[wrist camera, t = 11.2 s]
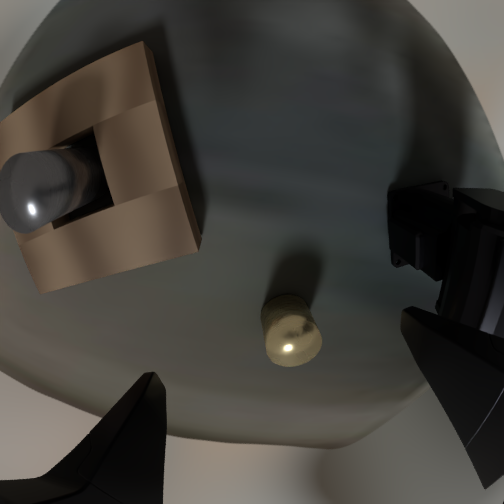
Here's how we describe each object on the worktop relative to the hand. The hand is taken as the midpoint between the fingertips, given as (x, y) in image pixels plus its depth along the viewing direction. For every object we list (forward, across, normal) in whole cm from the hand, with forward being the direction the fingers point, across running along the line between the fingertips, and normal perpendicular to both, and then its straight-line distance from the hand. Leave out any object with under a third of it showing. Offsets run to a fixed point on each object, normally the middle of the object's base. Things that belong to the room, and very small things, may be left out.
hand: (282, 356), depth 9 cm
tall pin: (+12, +10, -8) cm, 18 cm away
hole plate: (+12, +10, -8) cm, 18 cm away
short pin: (+12, -1, +7) cm, 14 cm away
